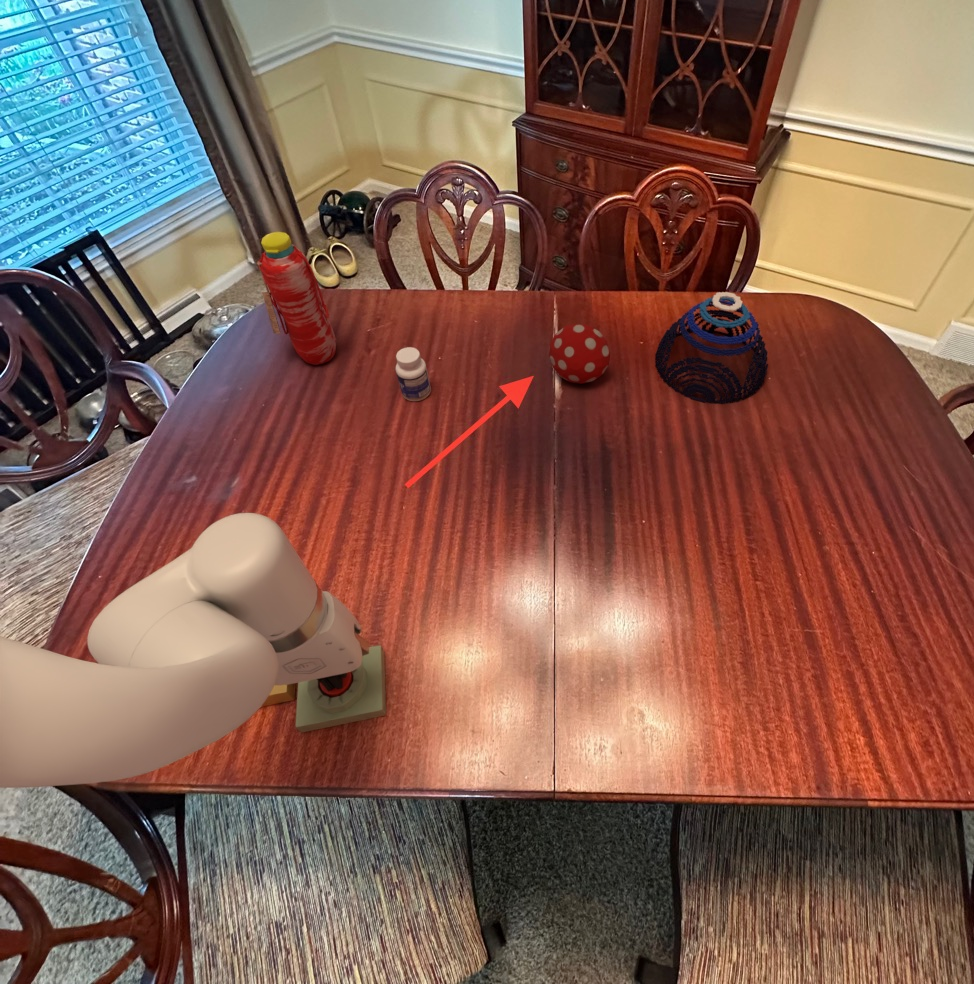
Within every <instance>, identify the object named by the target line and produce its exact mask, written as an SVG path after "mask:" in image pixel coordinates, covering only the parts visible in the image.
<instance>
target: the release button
mask: <svg viewBox="0 0 974 984" xmlns="http://www.w3.org/2000/svg"><path fill="white" fill-rule="evenodd" d="M352 682H353V674H352V672H347V677H346V678H343V688H342V689H337V688H335V689H333V690H332V691H328V690H327V689H326V688H325V687H324V686H323V685H322V683H320V687H321V689H322V690H323V691H324V692H325V694H326V695H327V696H328V697H330V698H332V697H337V696H341V695H342V694H343V693H345V692H346V691H347V690H349V688H350V686H351V684H352Z"/></svg>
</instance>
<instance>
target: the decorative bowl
mask: <svg viewBox="0 0 974 984" xmlns="http://www.w3.org/2000/svg"><path fill="white" fill-rule="evenodd" d="M708 308H714V309H708ZM716 308H717V309H716ZM697 310H698V311H699V312H696V311H697ZM694 312H696V313H694ZM734 312H735V313H739V314H740V315H738V314H735V313H734ZM725 318H726V319H725ZM748 321H749V322H751V323H749V322H748ZM697 322H698V323H697ZM704 322H705V323H704ZM701 324H702V326H700V325H701ZM759 325H760V324H759V322H758V321H756V318H755V316H754V315H753V313H752V312H750V311H749V309H748V307H747V306H746V304H744V303H743V300H742V299H741V296H738V295H737V294H736V293H734V292H728V291H725V292H724V291H722V292H720V291H719V292H718V291H717V292H716V293H715V294H713V296H711V297H707V299H706V298H705V300H704V301H702V302H700V303H696V304H695V305H694V306H692V308H689V310H687V311H686V312H685V313H684V314H682V315H681V317H680V318H678V319H677V321H674V322H673V323H671V325H670V326H669V329H666V330H665V333H664V334H663V336H662V337H661V339H660V341H659V344H658V345H657V349H656V353H655V354H654V356H655V357H654V360H655V362H654V367H655V368H656V371H657V373H658V374H659V375H660V376H659V378H660V379H662V382H663V383H665V384H666V385H667V386H668V387H669V388H670V389H672V390H673V391H674V392H676V393H680V395H683V396H684V397H686V398H689V400H693V401H697V402H701V403H704V404H706V403H708V404H720V405H723V404H733V403H735V402H737V403H738V402H740V401H744V400H745V399H746V398H747V399H748V398H750V397H751V396H754V394H756V392H758V390H760V389H761V388H762V386H763V384H764V381H765V378H766V375H767V373H768V368H769V363H767V362H768V349H767V348H766V343H765V341H764V340H763V339H764V337H763V336H762V335H761V334H760V333H761V329H760V327H759ZM707 327H708V329H707ZM738 327H739V328H738ZM719 328H721V329H722V328H723V329H724V330H725V331H726V332H723V331H719V330H718V329H719ZM733 329H734V330H733ZM690 333H693V335H696V336H697V337H698V338H701V339H702V340H705V341H706V342H709V343H714V344H717V345H726V346H728V345H729V346H731V345H737V344H739V345H740V344H743V345H744V346H740V347H734V348H722V349H721V348H717V347H714V346H708V345H705V344H704V343H702V342H701V341H698V340H697V339H695V338H694V337H693V336H692V335H690ZM714 333H715V334H720V336H718V335H714ZM734 334H736V335H734ZM721 335H722V336H721ZM723 335H724V336H723ZM679 336H681V337H682V338H683V339H684V340H685V341H686V342H687V343H688V344H689V345H691V347H694V349H698V351H702V352H703V353H705V354H710V355H713V356H718V357H720V356H722V357H724V356H725V357H726V356H727V357H733V356H739V355H742V354H746V353H747V352H750V350H751V351H752V352H753V354H752V357H751V359H752V361H750V363H749V367H748V370H747V373H746V376H745V380H744V382H743V384H742V383H741V380H740V379H739V378H738V376H737V375H736V373H735V372H734V370H731V368H730V367H729V366H725V364H722V362H719V361H717V362H715V361H711V360H708V359H703V358H702V357H699V356H696V357H695V356H690V357H689V356H687V357H686V358H683V359H680V360H678V361H677V362H676V361H675V362H673V363H671V364H670V366H668V362H669V359H670V356H671V354H670V353H672V350H673V348H672V347H673V346H674V343H675V340H676V338H677V337H679ZM752 339H753V340H752ZM747 341H748V343H747ZM716 367H717V368H716ZM720 371H721V372H720ZM689 372H690V373H689ZM698 372H701V373H698ZM709 375H712V376H709ZM692 376H698V377H699V378H695V377H692ZM687 377H692V378H687ZM682 378H683V380H682ZM685 378H686V379H685ZM680 380H681V381H680ZM707 380H712V381H713V382H711V381H707ZM673 381H674V382H673ZM720 381H721V382H720ZM672 382H673V384H672ZM678 382H679V384H677V383H678ZM696 382H698V383H696ZM688 383H689V384H688ZM691 383H692V384H691ZM700 383H703V384H700ZM714 383H715V384H714ZM676 384H677V386H676ZM704 384H706V385H704ZM716 384H718V385H719V386H720V388H721V389H720V388H719V386H717V385H716ZM683 385H684V386H683ZM724 385H725V386H726V387H725V386H724ZM709 386H710V387H709ZM681 387H683V388H682V390H680V388H681ZM712 388H713V389H712ZM714 390H715V391H714ZM722 391H723V393H724V395H722ZM715 392H716V393H717V394H718V398H719V399H718V400H717V396H716V393H715ZM695 394H701V395H702V397H703V398H701V397H696V396H694V395H695ZM728 394H730V395H728ZM747 399H746V400H747Z"/></svg>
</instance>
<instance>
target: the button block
mask: <svg viewBox="0 0 974 984" xmlns="http://www.w3.org/2000/svg"><path fill="white" fill-rule="evenodd" d="M385 658H386V657H385V650H384V648H383V646H382V645H381V644H378V645H373V646H369V654H367V655H364V656H362V664H361V665H360V667H358V668H357V669H355V670H353V671H351V672H352V674H353V682H352V684H351V686H350V688H349V690H347V691H346V692H345V693H343V694H342V695H341V696H337V697H332V698H330V697H328V696H327V695H326V694H325V692H324V691H323V690H322V689H321V687H320V682H319V681H318V680H317V679H314V680H309V681H304V682H298V683H297V694H296V695H297V696H296V709H295V725H294V726H295V727H294V728H295V729H297V730H298V732H300V733H301V734H302V733H306V732H307V733H308V732H313V731H317V730H320V729H321V730H322V729H327V728H330V727H331V728H332V727H336V726H341V725H346V724H350V723H355V722H360V721H365V720H370V719H375V718H380V717H385V716H387V697H386V696H387V695H386V665H385V664H386V663H385V662H386V661H385V660H386V659H385Z"/></svg>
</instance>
